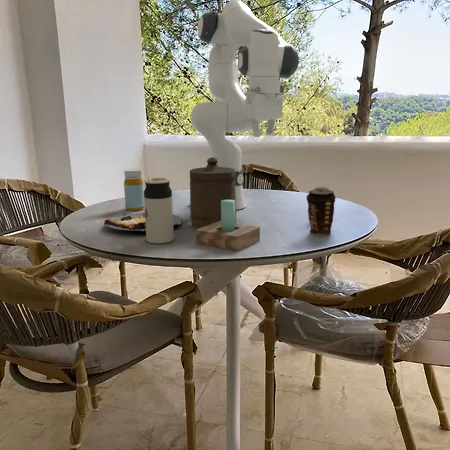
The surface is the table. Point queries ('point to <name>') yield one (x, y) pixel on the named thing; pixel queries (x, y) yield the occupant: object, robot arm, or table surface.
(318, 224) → the coffee cup
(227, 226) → the peg
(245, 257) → the table surface
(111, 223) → the food plate
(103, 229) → the table surface
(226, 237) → the socket block
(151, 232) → the travel mug
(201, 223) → the wooden container
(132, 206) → the bottle
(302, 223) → the table surface
